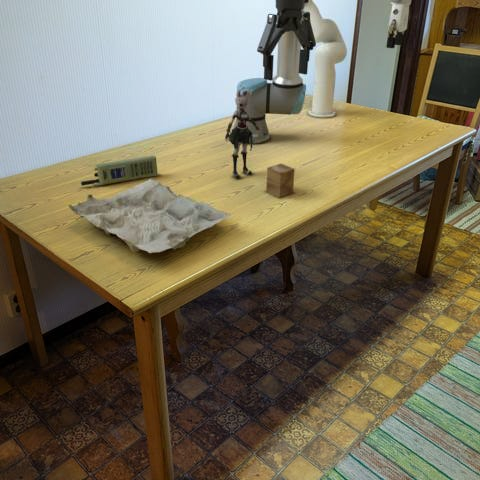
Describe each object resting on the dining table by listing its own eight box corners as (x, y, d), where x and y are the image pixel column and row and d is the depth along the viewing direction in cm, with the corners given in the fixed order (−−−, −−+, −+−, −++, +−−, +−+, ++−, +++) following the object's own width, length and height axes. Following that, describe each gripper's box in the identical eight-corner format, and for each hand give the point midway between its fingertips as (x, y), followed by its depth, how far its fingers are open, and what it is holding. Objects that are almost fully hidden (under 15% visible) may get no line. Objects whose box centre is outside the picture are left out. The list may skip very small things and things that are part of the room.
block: (279, 197, 156) (280, 173, 152) (266, 191, 160) (267, 167, 156) (293, 193, 160) (294, 168, 156) (279, 187, 164) (281, 163, 160)
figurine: (229, 182, 166) (230, 89, 151) (218, 177, 170) (217, 86, 155) (261, 171, 175) (264, 82, 160) (249, 166, 178) (251, 79, 164)
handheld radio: (158, 176, 170) (83, 189, 160) (155, 173, 172) (80, 186, 162) (156, 157, 167) (79, 169, 157) (153, 154, 169) (77, 166, 159)
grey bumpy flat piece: (148, 192, 160) (63, 221, 139) (147, 174, 157) (60, 201, 136) (236, 233, 139) (152, 274, 118) (238, 213, 136) (151, 251, 115)
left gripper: (264, -5, 122) (261, 84, 133) (333, -8, 136) (325, 73, 147) (244, -7, 127) (243, 79, 138) (312, -10, 141) (306, 69, 152)
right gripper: (404, 2, 190) (396, 50, 198) (417, -1, 202) (409, 44, 211) (384, 0, 193) (378, 48, 201) (398, -2, 206) (391, 43, 214)
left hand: (285, 76), depth 142 cm, fingers open, 13 cm apart
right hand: (394, 46), depth 206 cm, fingers open, 9 cm apart
